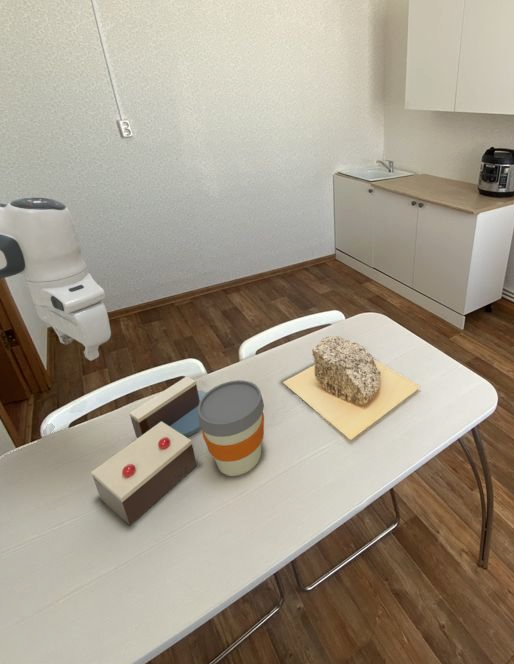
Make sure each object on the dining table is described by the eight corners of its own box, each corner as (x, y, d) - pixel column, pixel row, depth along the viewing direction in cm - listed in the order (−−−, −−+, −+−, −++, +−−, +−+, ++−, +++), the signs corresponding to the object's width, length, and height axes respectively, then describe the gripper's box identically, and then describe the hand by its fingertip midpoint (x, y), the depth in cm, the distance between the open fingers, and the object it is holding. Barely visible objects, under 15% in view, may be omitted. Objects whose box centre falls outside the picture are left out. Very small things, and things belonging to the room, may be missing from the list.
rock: (280, 382, 102) (300, 324, 103) (336, 383, 118) (354, 332, 118) (348, 440, 83) (373, 367, 83) (406, 432, 98) (426, 371, 99)
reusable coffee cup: (233, 427, 89) (224, 374, 84) (280, 441, 85) (274, 387, 79) (194, 473, 78) (181, 415, 72) (246, 492, 74) (236, 432, 68)
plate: (133, 425, 90) (131, 421, 89) (188, 386, 102) (187, 383, 101) (172, 452, 83) (171, 448, 82) (227, 407, 95) (226, 403, 94)
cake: (100, 498, 73) (88, 465, 70) (167, 445, 84) (159, 414, 81) (130, 526, 68) (118, 491, 65) (197, 465, 79) (189, 433, 76)
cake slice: (136, 437, 85) (129, 412, 82) (191, 398, 96) (186, 375, 94) (144, 444, 83) (137, 419, 81) (200, 404, 94) (195, 381, 92)
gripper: (15, 279, 72) (35, 341, 77) (70, 308, 62) (89, 377, 67) (53, 268, 77) (70, 327, 82) (110, 293, 68) (125, 358, 72)
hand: (79, 349), depth 75 cm, fingers open, 8 cm apart
